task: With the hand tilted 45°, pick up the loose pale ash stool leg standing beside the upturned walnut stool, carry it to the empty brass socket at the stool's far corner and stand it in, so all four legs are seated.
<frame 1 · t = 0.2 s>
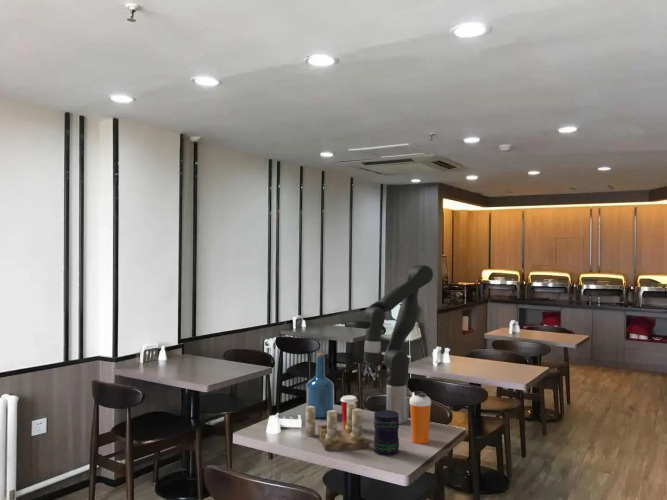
hand: (370, 386, 251), 18 cm above the table, tool pointing down, fingers open, 8 cm apart
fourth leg: (310, 435, 237), on the table
storage jar: (386, 452, 217), on the table
stool: (342, 442, 228), on the table
shaker bottle: (420, 441, 229), on the table
wine bottle: (319, 415, 268), on the table
paper cup: (348, 429, 246), on the table
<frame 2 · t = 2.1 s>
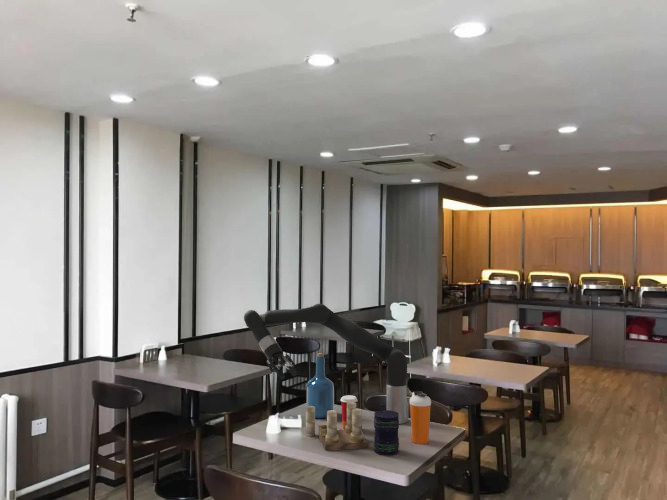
hand: (289, 376, 244), 24 cm above the table, tool tilted 45°, fingers open, 8 cm apart
nothing on the table moved.
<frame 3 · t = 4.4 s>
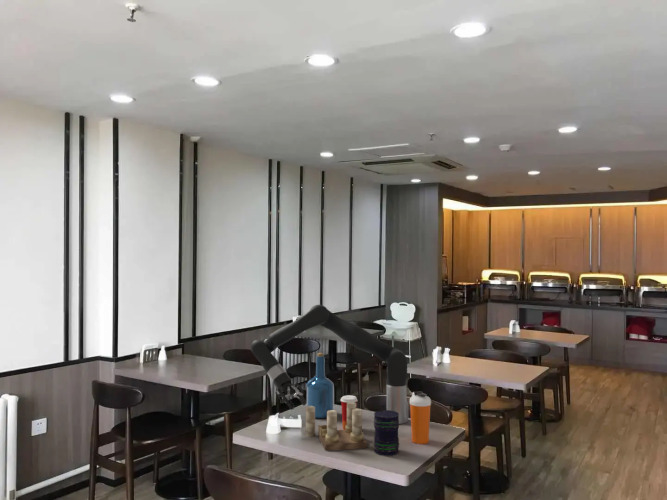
hand: (299, 406, 241), 11 cm above the table, tool tilted 45°, fingers open, 8 cm apart
nothing on the table moved.
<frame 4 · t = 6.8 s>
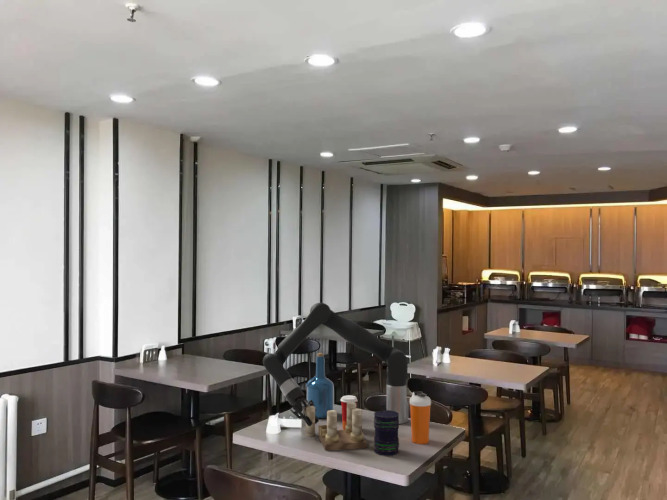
hand: (314, 423, 236), 5 cm above the table, tool tilted 45°, fingers closed on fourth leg, 4 cm apart
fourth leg: (310, 435, 237), on the table, touching gripper
everything else where it was.
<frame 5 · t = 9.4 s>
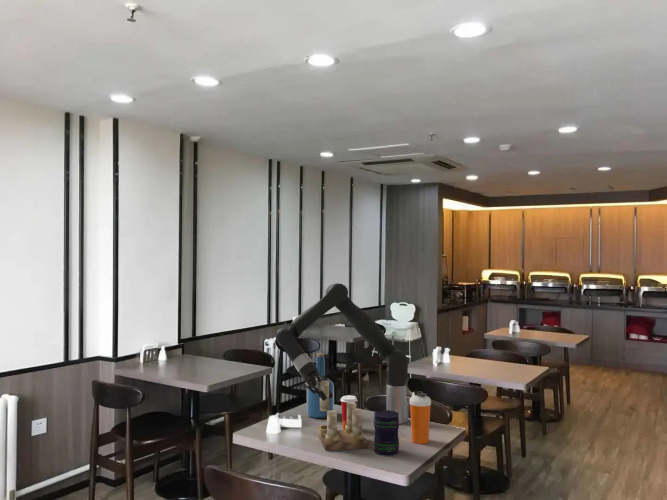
hand: (328, 398, 232), 17 cm above the table, tool tilted 45°, fingers closed on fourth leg, 4 cm apart
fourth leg: (324, 409, 233), point 12 cm above the table, touching gripper
everything else where it was.
when the fingers open (9 cm above the table, at t = 12.0 s): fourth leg drops 1 cm, resting on stool.
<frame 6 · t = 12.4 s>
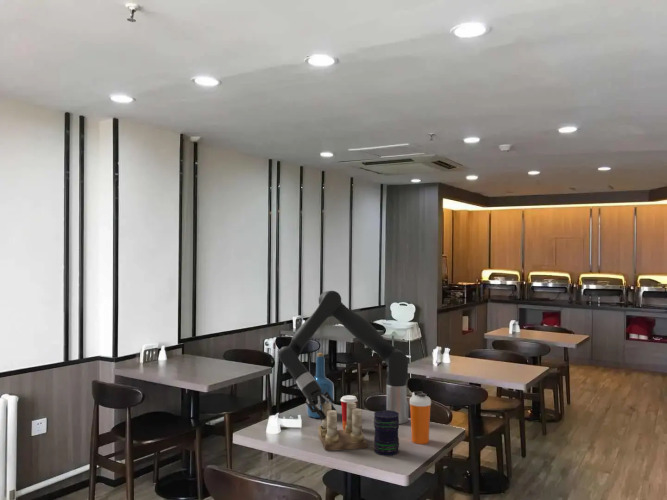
hand: (330, 416, 232), 10 cm above the table, tool tilted 45°, fingers open, 8 cm apart
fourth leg: (327, 433, 232), point 2 cm above the table, touching stool
everything else where it was.
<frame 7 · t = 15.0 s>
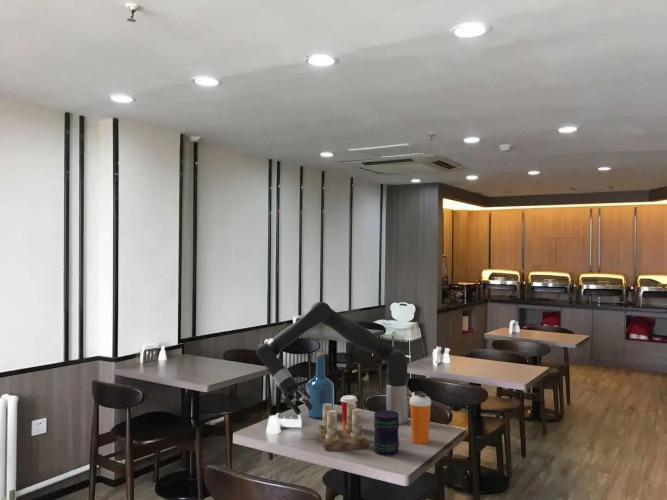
hand: (305, 411, 239), 10 cm above the table, tool tilted 45°, fingers open, 8 cm apart
nothing on the table moved.
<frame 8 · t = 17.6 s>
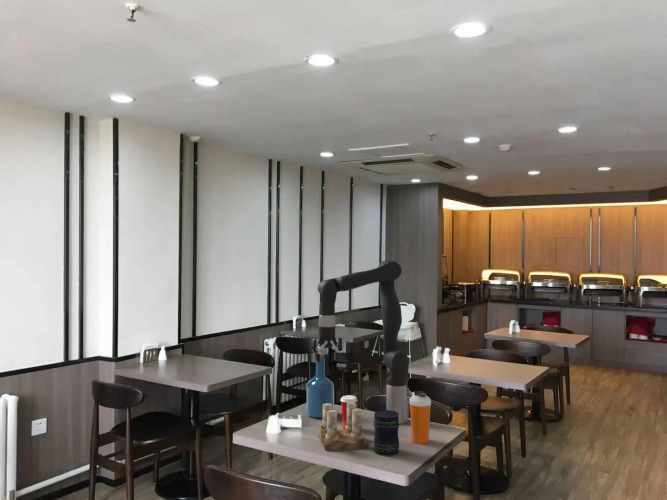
hand: (327, 361, 246), 30 cm above the table, tool pointing down, fingers open, 8 cm apart
nothing on the table moved.
at the end: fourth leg 0.0 cm from the target spot on the stool, point 2.4 cm above the stool's base; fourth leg tilted 0°; the gripper is holding nothing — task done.
